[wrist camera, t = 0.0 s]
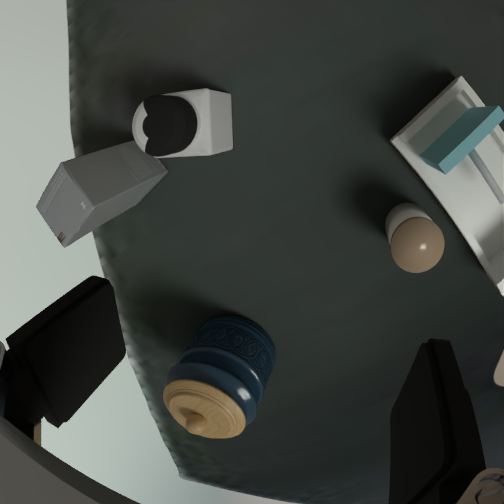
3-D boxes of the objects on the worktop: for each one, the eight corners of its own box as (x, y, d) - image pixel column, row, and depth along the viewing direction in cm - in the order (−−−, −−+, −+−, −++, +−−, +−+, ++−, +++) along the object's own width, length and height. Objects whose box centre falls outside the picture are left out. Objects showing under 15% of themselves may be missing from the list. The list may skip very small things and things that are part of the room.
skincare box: (144, 136, 41) (59, 152, 27) (174, 176, 42) (94, 207, 28) (111, 174, 45) (30, 202, 30) (137, 211, 46) (61, 251, 32)
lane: (455, 78, 27) (474, 71, 22) (545, 219, 29) (567, 233, 24) (389, 140, 33) (397, 143, 28) (486, 274, 35) (502, 296, 29)
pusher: (469, 107, 27) (498, 105, 20) (512, 170, 28) (545, 183, 21) (419, 155, 32) (438, 164, 24) (464, 216, 32) (488, 239, 25)
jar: (410, 191, 34) (423, 206, 28) (437, 227, 35) (454, 249, 29) (374, 222, 37) (379, 243, 31) (403, 256, 37) (412, 283, 31)
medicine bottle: (231, 92, 36) (185, 83, 25) (234, 149, 38) (189, 161, 28) (179, 98, 38) (121, 95, 27) (182, 151, 40) (126, 165, 30)
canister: (238, 386, 54) (200, 466, 38) (184, 336, 52) (128, 410, 37) (294, 356, 48) (266, 449, 32) (234, 297, 46) (180, 380, 31)
